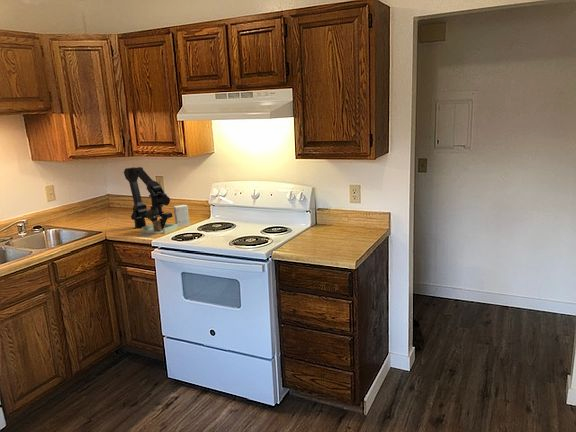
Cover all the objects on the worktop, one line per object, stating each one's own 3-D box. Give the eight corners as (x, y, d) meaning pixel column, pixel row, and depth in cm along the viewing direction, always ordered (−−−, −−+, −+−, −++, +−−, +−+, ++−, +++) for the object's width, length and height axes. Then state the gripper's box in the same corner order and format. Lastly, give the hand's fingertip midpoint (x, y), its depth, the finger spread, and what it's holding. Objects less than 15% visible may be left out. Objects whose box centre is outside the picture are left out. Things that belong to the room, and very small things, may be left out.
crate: (142, 232, 294) (141, 227, 294) (155, 227, 305) (154, 223, 304) (165, 233, 286) (164, 228, 286) (178, 229, 297) (177, 224, 296)
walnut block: (153, 231, 294) (152, 221, 293) (159, 229, 298) (158, 220, 297) (160, 231, 292) (158, 222, 291) (165, 229, 296) (164, 220, 295)
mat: (135, 236, 283) (135, 236, 283) (145, 233, 291) (145, 232, 291) (148, 237, 279) (148, 237, 279) (158, 234, 287) (158, 233, 287)
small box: (187, 223, 312) (185, 204, 309) (189, 225, 306) (187, 205, 304) (175, 225, 309) (173, 206, 306) (177, 227, 303) (175, 207, 300)
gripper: (135, 206, 289) (138, 230, 292) (159, 207, 281) (162, 232, 284) (148, 202, 299) (151, 226, 302) (171, 203, 290) (174, 228, 294)
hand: (159, 228), depth 295 cm, fingers closed on walnut block, 5 cm apart
